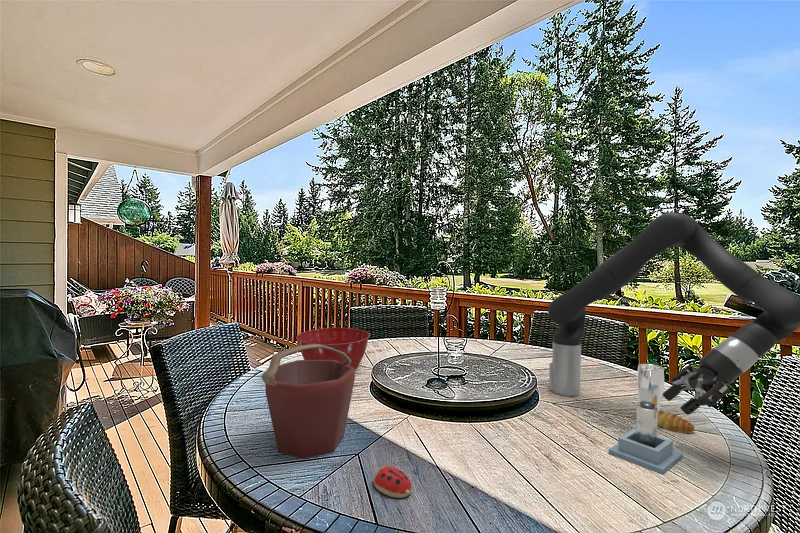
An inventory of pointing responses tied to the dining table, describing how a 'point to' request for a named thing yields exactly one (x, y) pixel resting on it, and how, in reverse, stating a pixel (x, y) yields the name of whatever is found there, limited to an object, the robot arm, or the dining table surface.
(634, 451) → the dock
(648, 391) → the beer glass
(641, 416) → the thermos
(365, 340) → the mixing bowl
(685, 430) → the pastry
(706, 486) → the dining table surface
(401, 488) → the ladybug figurine
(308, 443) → the bucket
